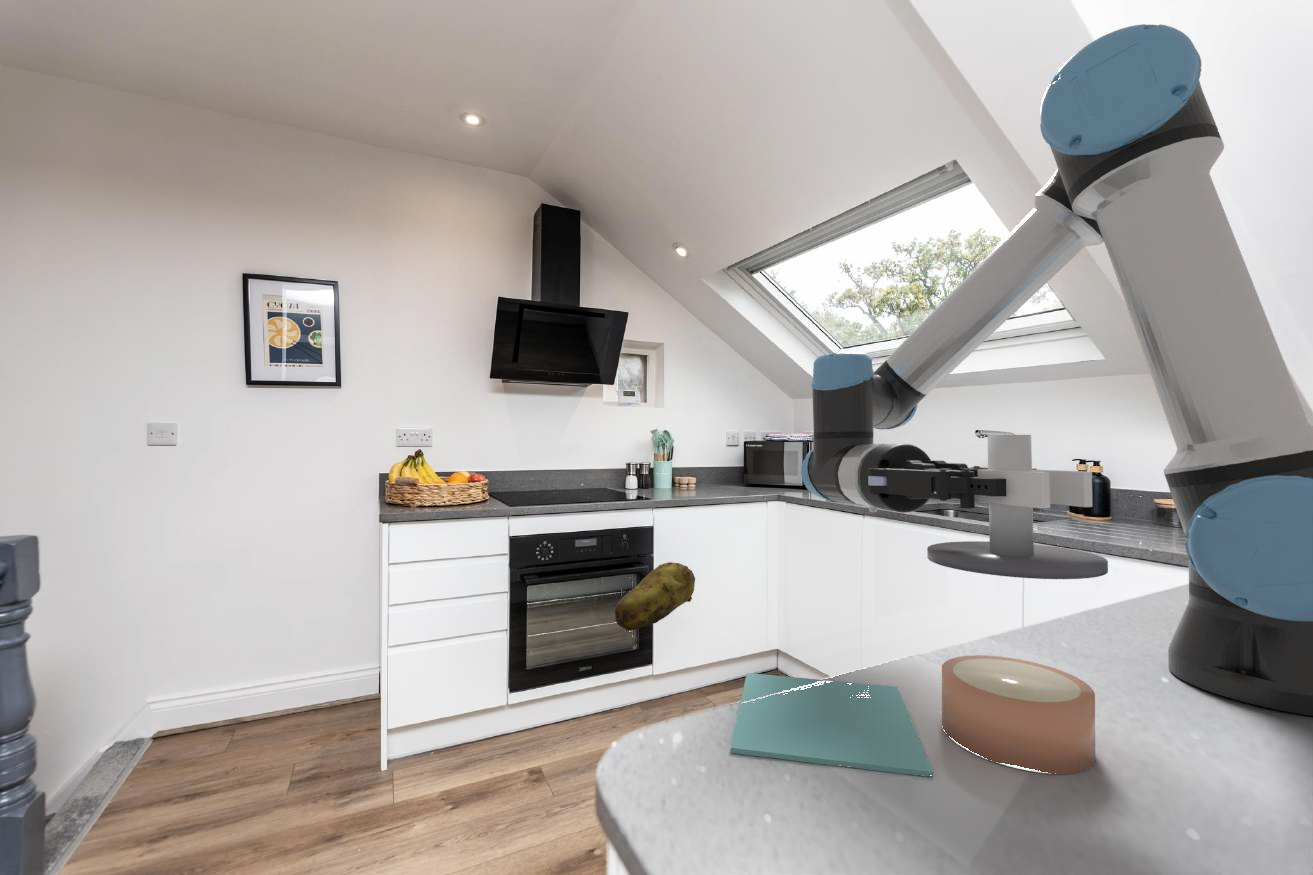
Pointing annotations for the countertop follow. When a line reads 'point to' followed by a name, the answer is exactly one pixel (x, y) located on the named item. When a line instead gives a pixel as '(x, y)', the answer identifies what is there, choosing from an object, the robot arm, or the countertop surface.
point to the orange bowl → (1019, 713)
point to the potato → (655, 596)
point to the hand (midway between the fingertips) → (1066, 489)
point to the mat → (828, 725)
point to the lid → (1015, 533)
